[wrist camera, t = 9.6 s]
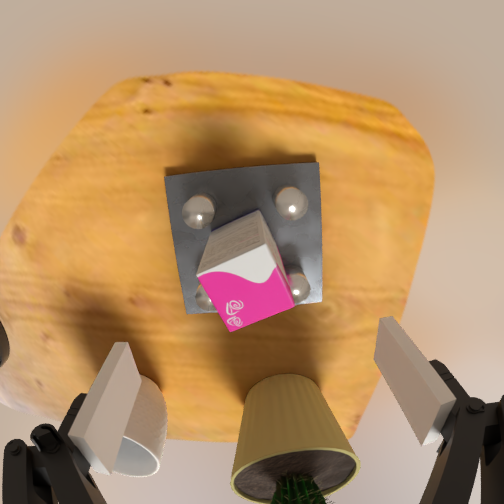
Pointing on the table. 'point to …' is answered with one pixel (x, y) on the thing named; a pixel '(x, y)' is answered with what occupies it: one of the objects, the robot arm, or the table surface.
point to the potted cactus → (290, 445)
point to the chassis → (240, 204)
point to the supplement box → (244, 272)
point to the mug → (143, 433)
